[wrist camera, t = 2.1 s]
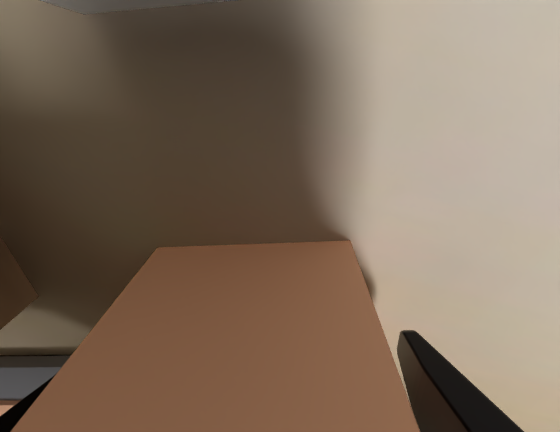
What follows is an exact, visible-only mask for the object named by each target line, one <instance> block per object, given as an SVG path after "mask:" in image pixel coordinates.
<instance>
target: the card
mask: <svg viewBox="0 0 560 432" xmlns="http://www.w3.org/2000/svg"><path fill="white" fill-rule="evenodd" d="M69 358H70V356H0V416H1V415H2V414H4V413H5V412H6V411H8V410H9V409H10V408H12V407H13V406H14V405H16V404H17V403H18V402H20V401H21V400H22V399H23V398H25V397H26V396H27V395H29V394H30V393H31V392H33V391H34V390H35V389H37V388H38V387H39V386H41V385H42V384H43V383H45V382H46V381H47V380H49V379H50V378H51V377H53V376H54V375H55V374H57V373H58V371H59V370H60V369H61V368H62V366H63V365H64V364H65V363H66V361H67V360H68V359H69Z"/></svg>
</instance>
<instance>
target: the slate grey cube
mask: <svg viewBox="0 0 560 432" xmlns="http://www.w3.org/2000/svg"><path fill="white" fill-rule="evenodd" d="M40 1H43V2H46V3H49V4H53V5H56V6H59V7H62V8H65V9H68V10H71V11H75V12H78V13H81V14H94V13H105V12H116V11H127V10H138V9H149V8H160V7H170V6H181V5H192V4H203V3H214V2H225V1H236V0H40Z"/></svg>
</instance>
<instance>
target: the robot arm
mask: <svg viewBox="0 0 560 432" xmlns="http://www.w3.org/2000/svg"><path fill="white" fill-rule="evenodd" d="M397 354H398V358H399V362H400V366H401V370H402V373H403V377H404V381H405V384H406V388H407V392H408V396H409V399H410V403H411V406H412V410H413V413H414V416H415V419H416V421H417V424H418V427H419V429H420V432H524V431H523V430H522V429H521V428H520V427H518V426H517V425H516V424H515V423H514V422H513V421H512V420H511V419H510V418H509V417H508V416H507V415H506V414H504V413H503V412H502V411H501V410H500V409H499V408H498V407H497V406H496V405H495V404H494V403H493V402H492V401H490V400H489V399H488V398H487V397H486V396H485V395H484V394H483V393H482V392H481V391H480V390H479V389H478V388H477V387H475V386H474V385H473V384H472V383H471V382H470V381H469V380H468V379H467V378H466V377H465V376H464V375H463V374H461V373H460V372H459V371H458V370H457V369H456V368H455V367H454V366H453V365H452V364H451V363H450V362H449V361H447V360H446V359H445V358H444V357H443V356H442V355H441V354H440V353H439V352H438V351H437V350H436V349H435V348H433V347H432V346H431V345H430V344H429V343H428V342H427V341H426V340H425V339H424V338H423V337H422V336H421V335H419V334H418V333H417V332H416V331H414V330H403V331H401V332H400V335H399V341H398V346H397ZM55 375H56V374H55ZM55 375H54V376H55ZM54 376H53V377H51V378H50V379H49V380H47V381H46V382H45V383H43V384H42V385H41V386H39V387H38V388H37V389H35V390H34V391H33V392H31V393H30V394H29V395H27V396H26V397H25V398H23V399H22V400H21V401H20V402H18V403H17V404H16V405H14V406H13V407H12V408H10V409H9V410H8V411H6V412H5V413H4V414H2V415H1V416H0V432H11V430H12V429H13V428H14V427H15V425H16V424H17V423H18V422H19V420H20V419H21V418H22V417H23V415H24V414H25V413H26V412H27V410H28V409H29V408H30V407H31V405H32V404H33V403H34V401H35V400H36V399H37V398H38V396H39V395H40V394H41V393H42V391H43V390H44V389H45V388H46V386H47V385H48V384H49V383H50V381H51V380H52V379H53V378H54Z"/></svg>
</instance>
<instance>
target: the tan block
mask: <svg viewBox="0 0 560 432" xmlns="http://www.w3.org/2000/svg"><path fill="white" fill-rule="evenodd" d="M38 297H39V296H38V295H37V293H36V292H35V290H34V289H33V287H32V285H31V284H30V282H29V281H28V279H27V277H26V276H25V274H24V273H23V271H22V270H21V268H20V266H19V265H18V263H17V262H16V260H15V259H14V257H13V255H12V254H11V252H10V251H9V249H8V248H7V246H6V244H5V243H4V241H3V240H2V238H1V236H0V330H1V329H2V328H3V327H4V326H5V325H6V324H7V323H9V322H10V321H11V320H12V319H13V318H14V317H16V316H17V315H18V314H19V313H20V312H21V311H23V310H24V309H25V308H26V307H27V306H28V305H29V304H31V303H32V302H33V301H34V300H35V299H36V298H38Z"/></svg>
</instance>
